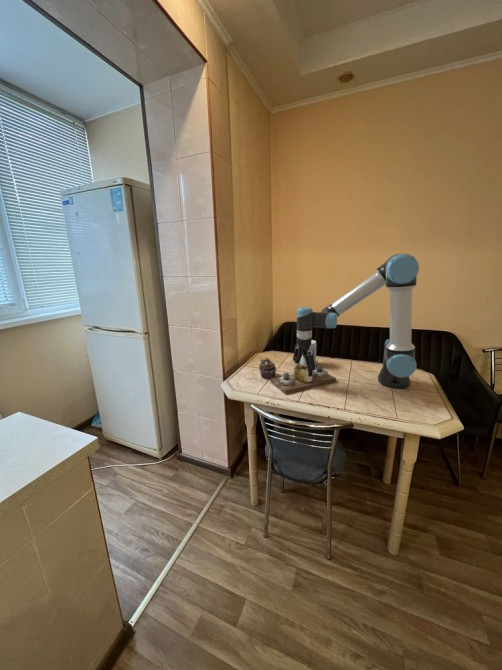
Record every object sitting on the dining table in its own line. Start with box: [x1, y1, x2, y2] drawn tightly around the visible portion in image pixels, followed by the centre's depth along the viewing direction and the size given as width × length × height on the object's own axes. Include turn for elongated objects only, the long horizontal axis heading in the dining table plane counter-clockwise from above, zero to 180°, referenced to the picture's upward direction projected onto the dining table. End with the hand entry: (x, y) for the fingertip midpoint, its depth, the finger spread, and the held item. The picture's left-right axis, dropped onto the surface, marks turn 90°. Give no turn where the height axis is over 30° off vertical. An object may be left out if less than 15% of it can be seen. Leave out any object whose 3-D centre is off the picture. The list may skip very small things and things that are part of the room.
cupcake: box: [258, 358, 277, 380], centre depth 158 cm, size 10×10×10 cm
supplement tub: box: [299, 339, 317, 365], centre depth 172 cm, size 10×10×15 cm
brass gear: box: [293, 364, 314, 382], centre depth 148 cm, size 10×10×6 cm
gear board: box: [270, 364, 337, 395], centre depth 149 cm, size 15×31×7 cm, turn 114°
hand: (303, 377), depth 149 cm, fingers closed on brass gear, 10 cm apart
